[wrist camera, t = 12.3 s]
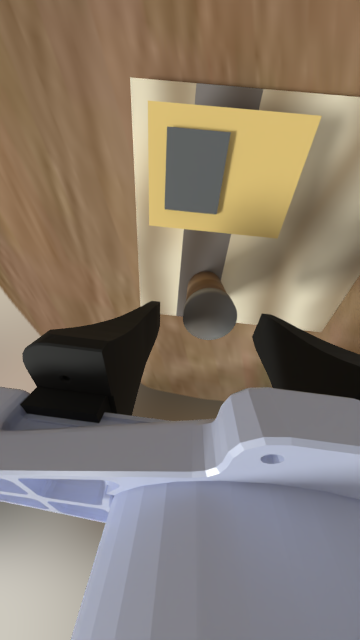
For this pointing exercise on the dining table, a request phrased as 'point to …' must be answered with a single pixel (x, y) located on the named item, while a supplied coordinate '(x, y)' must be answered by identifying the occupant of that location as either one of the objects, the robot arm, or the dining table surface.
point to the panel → (251, 251)
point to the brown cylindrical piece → (208, 307)
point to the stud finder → (224, 167)
